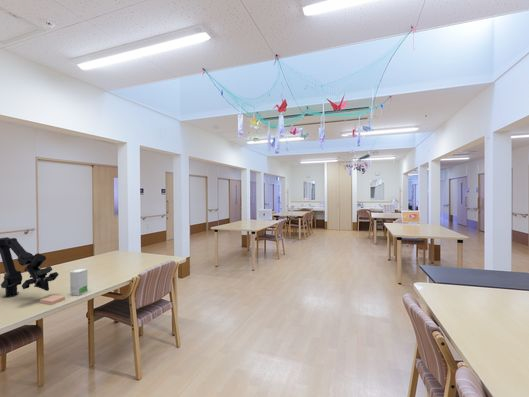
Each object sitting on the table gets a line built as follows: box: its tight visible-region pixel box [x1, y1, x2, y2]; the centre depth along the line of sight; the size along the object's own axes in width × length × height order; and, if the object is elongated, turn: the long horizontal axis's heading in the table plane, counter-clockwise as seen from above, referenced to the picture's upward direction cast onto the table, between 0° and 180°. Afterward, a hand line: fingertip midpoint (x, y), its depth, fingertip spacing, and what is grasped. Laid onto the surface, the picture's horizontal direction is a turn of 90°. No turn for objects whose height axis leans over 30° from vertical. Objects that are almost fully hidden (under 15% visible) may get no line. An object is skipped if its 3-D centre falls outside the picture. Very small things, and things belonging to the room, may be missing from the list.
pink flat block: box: [39, 294, 66, 306], centre depth 168 cm, size 2×8×10 cm
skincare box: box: [69, 268, 89, 296], centre depth 182 cm, size 8×7×16 cm
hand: (48, 290), depth 169 cm, fingers closed
